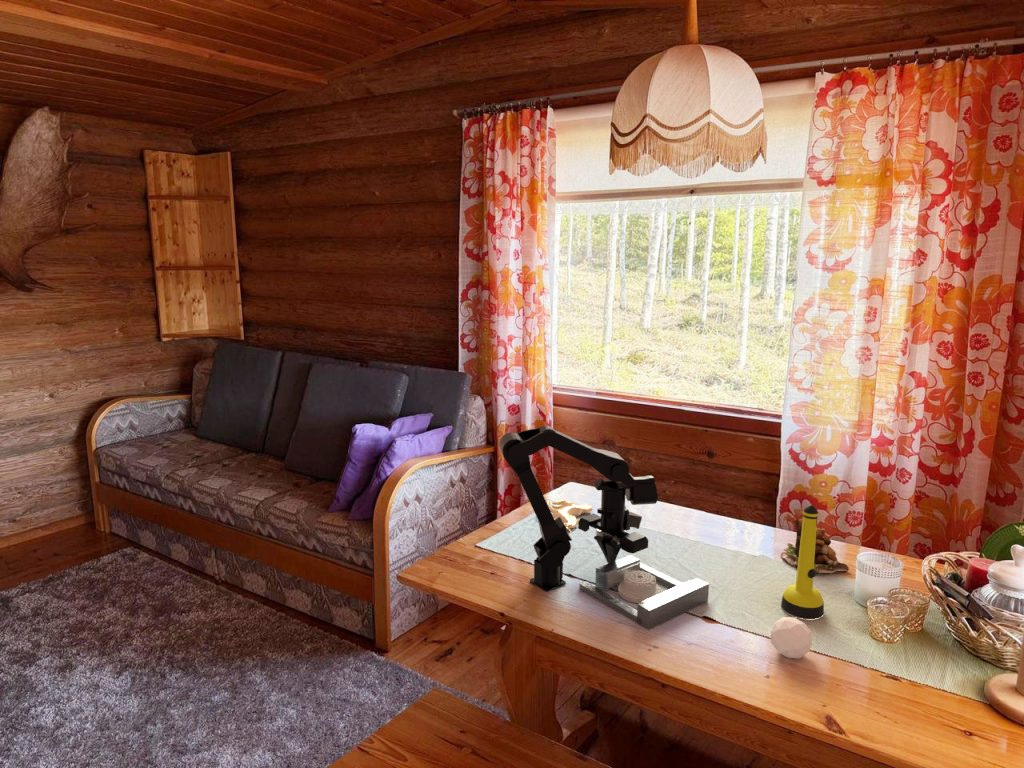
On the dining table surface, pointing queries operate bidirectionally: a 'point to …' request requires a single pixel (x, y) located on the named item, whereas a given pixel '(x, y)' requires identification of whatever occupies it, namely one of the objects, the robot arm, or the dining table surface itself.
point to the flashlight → (805, 574)
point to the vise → (656, 599)
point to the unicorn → (568, 512)
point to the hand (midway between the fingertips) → (611, 564)
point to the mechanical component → (638, 586)
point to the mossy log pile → (823, 552)
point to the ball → (791, 637)
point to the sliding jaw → (615, 572)
